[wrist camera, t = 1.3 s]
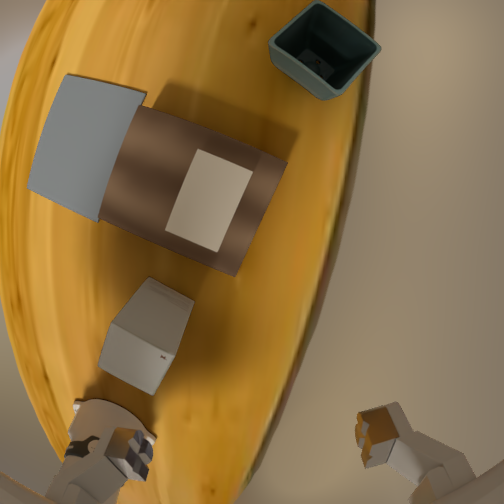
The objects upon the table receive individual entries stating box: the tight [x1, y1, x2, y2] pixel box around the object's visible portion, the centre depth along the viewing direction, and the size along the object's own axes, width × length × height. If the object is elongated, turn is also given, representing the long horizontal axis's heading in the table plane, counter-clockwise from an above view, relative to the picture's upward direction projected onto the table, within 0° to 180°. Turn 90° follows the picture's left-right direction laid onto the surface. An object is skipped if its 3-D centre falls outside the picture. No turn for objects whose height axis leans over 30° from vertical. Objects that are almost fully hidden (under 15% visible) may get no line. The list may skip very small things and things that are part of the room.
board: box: [97, 105, 288, 277], centre depth 31 cm, size 14×18×4 cm
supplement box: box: [98, 277, 195, 396], centre depth 31 cm, size 7×7×13 cm
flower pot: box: [268, 0, 381, 100], centre depth 25 cm, size 9×9×9 cm
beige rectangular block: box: [165, 149, 253, 252], centre depth 29 cm, size 9×6×2 cm, turn 156°
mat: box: [27, 75, 146, 223], centre depth 31 cm, size 18×15×1 cm
